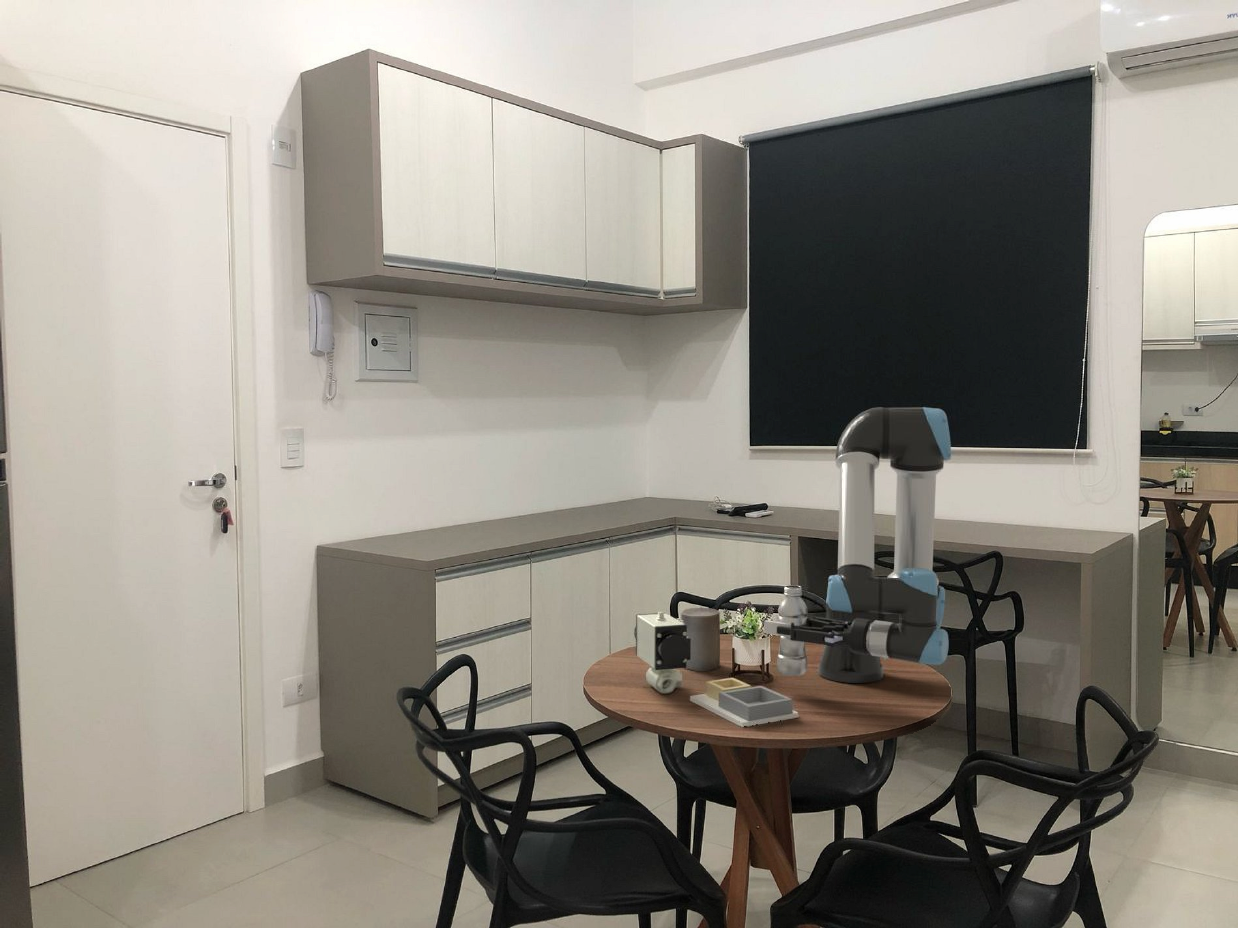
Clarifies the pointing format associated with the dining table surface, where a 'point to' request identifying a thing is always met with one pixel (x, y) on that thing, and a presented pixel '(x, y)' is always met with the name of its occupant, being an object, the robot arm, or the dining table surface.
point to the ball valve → (662, 649)
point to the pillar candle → (703, 638)
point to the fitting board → (745, 702)
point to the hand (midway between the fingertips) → (771, 623)
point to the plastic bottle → (789, 651)
